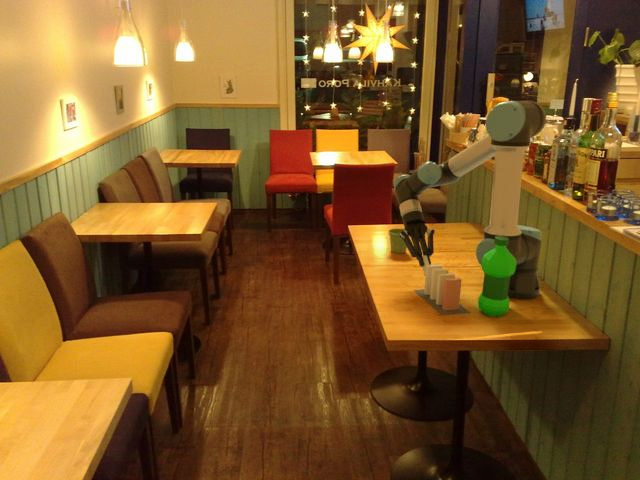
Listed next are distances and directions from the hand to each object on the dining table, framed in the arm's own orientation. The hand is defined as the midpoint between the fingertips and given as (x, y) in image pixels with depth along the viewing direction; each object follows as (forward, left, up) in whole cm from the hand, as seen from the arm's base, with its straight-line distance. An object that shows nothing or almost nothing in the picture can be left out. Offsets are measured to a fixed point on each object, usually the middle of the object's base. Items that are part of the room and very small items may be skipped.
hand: (428, 274), depth 207 cm
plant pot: (0, -45, -6) cm, 46 cm away
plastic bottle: (-16, +21, -6) cm, 27 cm away
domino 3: (-2, +13, -5) cm, 14 cm away
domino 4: (-3, +18, -5) cm, 19 cm away
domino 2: (-2, +9, -5) cm, 10 cm away
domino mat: (-2, +11, -6) cm, 13 cm away
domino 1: (-1, +4, -5) cm, 7 cm away
